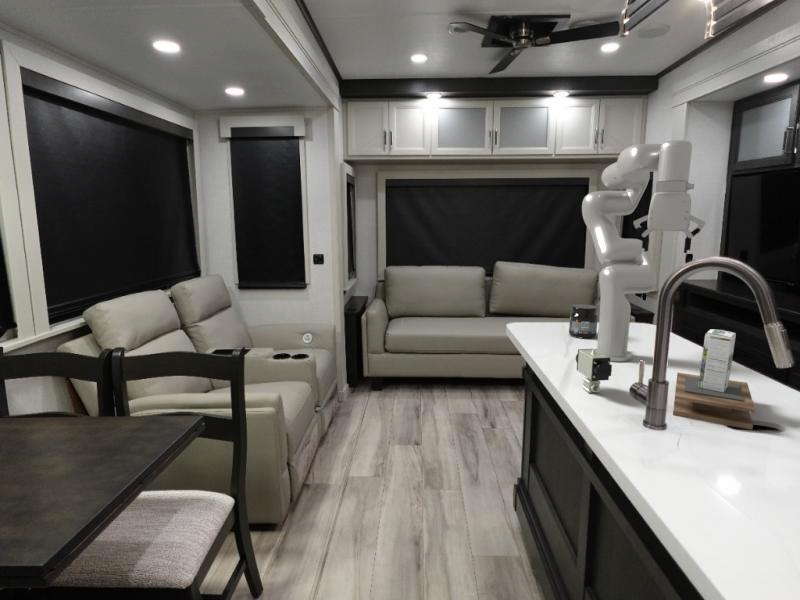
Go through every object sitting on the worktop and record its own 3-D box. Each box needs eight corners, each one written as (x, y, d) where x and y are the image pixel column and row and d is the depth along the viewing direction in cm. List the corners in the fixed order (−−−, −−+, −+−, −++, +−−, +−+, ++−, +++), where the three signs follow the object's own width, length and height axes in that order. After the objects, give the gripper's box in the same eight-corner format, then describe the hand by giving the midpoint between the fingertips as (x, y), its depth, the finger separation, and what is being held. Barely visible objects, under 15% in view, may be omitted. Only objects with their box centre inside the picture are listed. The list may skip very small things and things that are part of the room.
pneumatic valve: (593, 399, 129) (596, 356, 127) (573, 383, 141) (575, 344, 138) (613, 398, 130) (616, 355, 128) (591, 383, 141) (594, 343, 139)
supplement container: (582, 331, 201) (584, 303, 198) (602, 337, 191) (604, 307, 189) (562, 334, 196) (564, 305, 194) (582, 340, 187) (584, 310, 185)
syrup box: (702, 381, 127) (708, 328, 124) (729, 387, 123) (736, 331, 120) (697, 387, 123) (704, 332, 120) (725, 393, 119) (732, 336, 116)
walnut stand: (675, 389, 136) (677, 371, 135) (744, 400, 128) (747, 381, 127) (672, 414, 119) (675, 394, 118) (752, 429, 111) (755, 407, 110)
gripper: (709, 188, 129) (701, 252, 133) (637, 189, 138) (632, 249, 141) (709, 187, 123) (702, 254, 126) (634, 188, 132) (629, 251, 135)
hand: (665, 252), depth 134 cm, fingers open, 9 cm apart
